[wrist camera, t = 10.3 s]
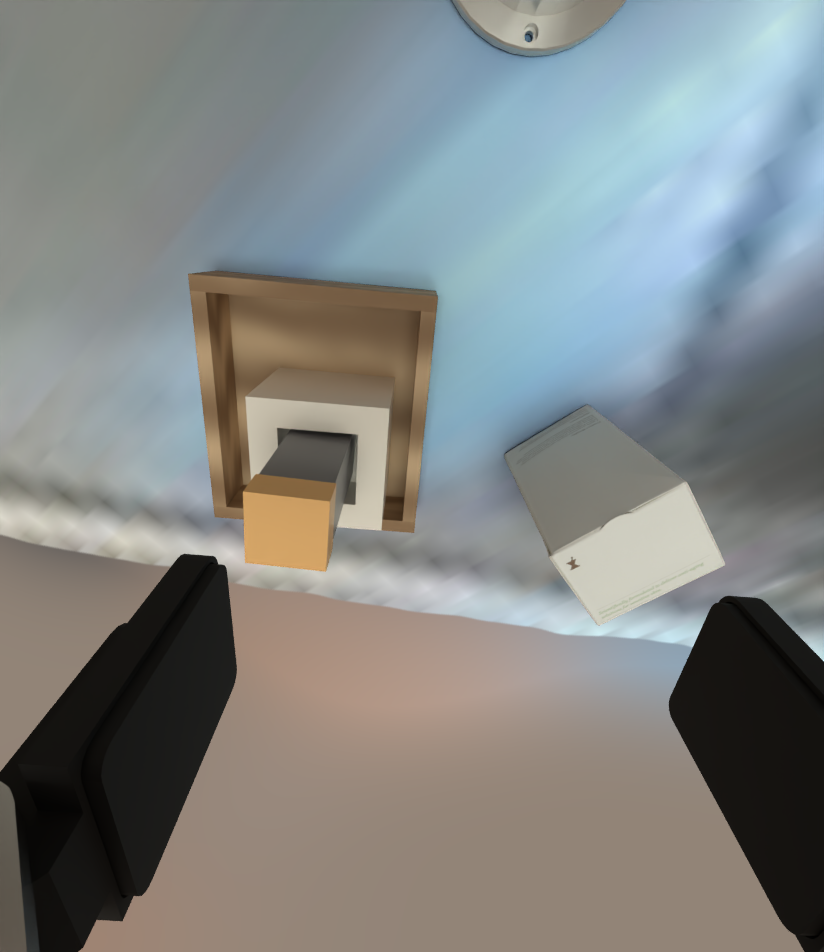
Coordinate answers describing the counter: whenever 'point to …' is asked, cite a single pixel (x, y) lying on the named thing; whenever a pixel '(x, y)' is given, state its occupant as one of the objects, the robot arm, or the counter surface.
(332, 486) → the square peg
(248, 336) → the crate
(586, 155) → the counter surface
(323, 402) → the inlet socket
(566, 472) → the skincare box
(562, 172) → the counter surface
